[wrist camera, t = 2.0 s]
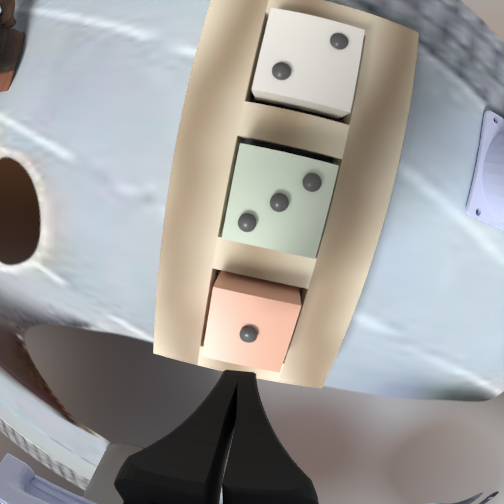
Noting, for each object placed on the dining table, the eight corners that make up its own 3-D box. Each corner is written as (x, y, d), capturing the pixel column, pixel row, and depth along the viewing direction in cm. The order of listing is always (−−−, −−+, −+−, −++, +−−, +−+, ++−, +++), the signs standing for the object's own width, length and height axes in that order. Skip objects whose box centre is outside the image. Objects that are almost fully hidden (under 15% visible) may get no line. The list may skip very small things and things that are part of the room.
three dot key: (328, 163, 17) (339, 165, 14) (309, 242, 18) (315, 260, 15) (245, 144, 17) (239, 142, 14) (230, 225, 18) (220, 239, 15)
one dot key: (298, 283, 19) (301, 307, 16) (279, 345, 21) (279, 374, 18) (222, 266, 19) (212, 288, 16) (211, 330, 21) (201, 358, 18)
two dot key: (351, 47, 14) (365, 28, 11) (338, 119, 16) (351, 112, 13) (271, 28, 14) (270, 5, 11) (255, 100, 16) (251, 88, 13)
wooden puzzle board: (403, 44, 15) (419, 32, 12) (318, 367, 22) (321, 388, 20) (222, 2, 15) (215, -16, 12) (164, 334, 22) (153, 353, 20)
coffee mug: (114, 431, 28) (81, 498, 18) (193, 469, 28) (175, 539, 19) (97, 467, 32) (73, 517, 22) (159, 497, 32) (142, 549, 23)
